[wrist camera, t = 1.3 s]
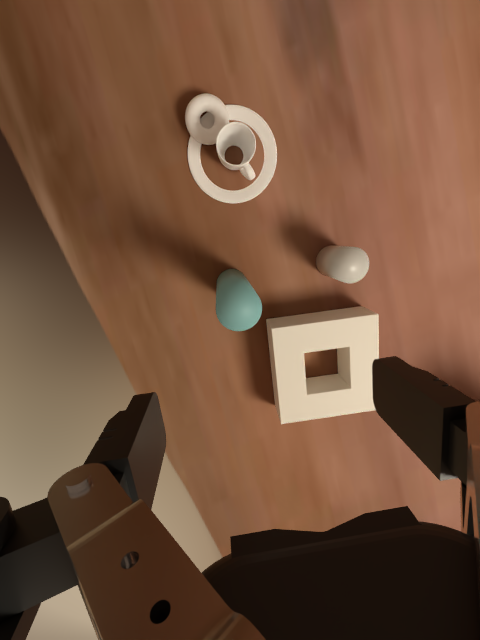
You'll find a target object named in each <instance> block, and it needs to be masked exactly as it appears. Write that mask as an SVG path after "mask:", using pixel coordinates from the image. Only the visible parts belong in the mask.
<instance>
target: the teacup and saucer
mask: <svg viewBox="0 0 480 640" xmlns="http://www.w3.org/2000/svg"><path fill="white" fill-rule="evenodd" d="M206 111H207V113H206V114H205V115H204V116H203V117H202V118H201V119H200V116H201V114H202V113H203V112H206ZM229 120H237V121H241V122H243V123H246V124H247V125H249V126H250V127H251V128H253V129H254V130H255V131H256V133H257V134H258V136H259V137H260V139H261V141H262V144H263V148H264V165H263V168H262V171H261V173H260V175H259V176H258V178H257V179H256V180H255V182H253V183H252V184H251V185H250V186H248V187H246V188H244V189H242V190H237V191H229V190H224V189H222V188H219V187H218V186H216V185H215V184H213V183H212V182H211V181H210V180H209V179H208V177H207V176H206V174H205V173H204V170H203V168H202V165H201V160H200V149H201V144H205V145H213V144H216V149H217V154H218V157H219V159H220V161H221V163H222V164H223V165H224V166H225V167H226V168H228V169H230V170H240V172H241V173H242V174H243V176H244V177H245V178H246V179H248V180H252V179H254V178H255V173H254V171H253V169H252V167H251V166H250V164H249V162H250V160H251V159H252V157H253V155H254V153H255V149H256V140H255V136H254V134H253V132H252V130H251V129H250V128H249V127H248V126H247V125H245V124H243V123H241V122H231V123H229ZM185 122H186V127H187V129H188V131H189V133H190V139H189V143H188V163H189V167H190V171H191V173H192V176H193V178H194V180H195V181H196V183H197V184H198V186H199V187H200V188H201V189H202V190H203V191H204V192H205V193H206V194H207V195H209V196H210V197H212V198H214V199H216V200H218V201H221V202H225V203H242V202H245V201H248V200H250V199H252V198H254V197H256V196H257V195H259V194H260V193H261V192H262V191H263V190H264V189H265V188H266V187H267V185H268V184H269V182H270V181H271V179H272V177H273V174H274V171H275V168H276V162H277V148H276V142H275V139H274V136H273V133H272V131H271V129H270V128H269V126H268V124H267V123H266V122H265V121H264V119H263V118H262V117H261V116H259V115H258V114H257V113H256V112H254V111H253V110H251V109H249V108H246V107H243V106H240V105H224V103H223V102H222V101H221V100H220V99H219V98H218V97H216V96H214V95H212V94H208V93H204V94H200V95H197V96H196V97H194V98H193V99H192V100H191V101H190V102H189V104H188V106H187V109H186V113H185ZM230 146H238V147H239V148H240V149H241V150H242V152H243V161H242V162H241V164H239V165H233V164H230V163H228V162H226V160H225V151H226V150H227V148H228V147H230Z"/></svg>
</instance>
